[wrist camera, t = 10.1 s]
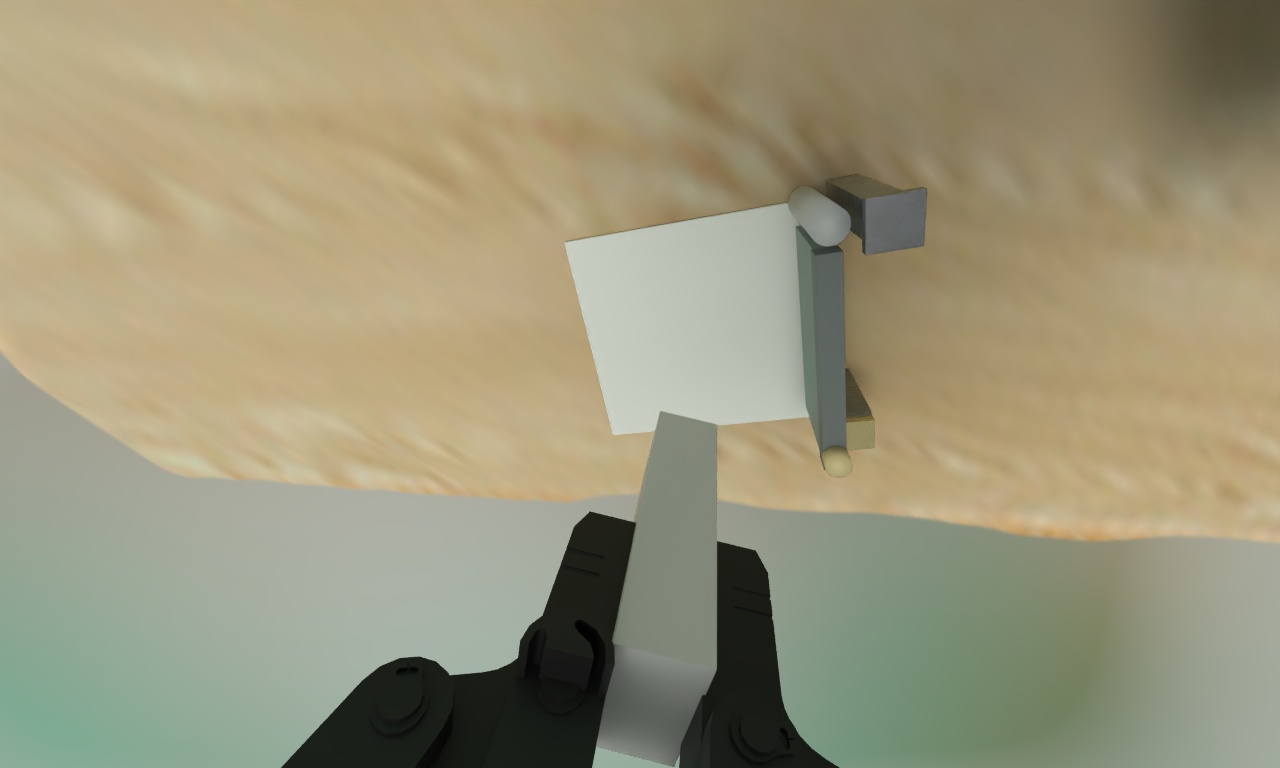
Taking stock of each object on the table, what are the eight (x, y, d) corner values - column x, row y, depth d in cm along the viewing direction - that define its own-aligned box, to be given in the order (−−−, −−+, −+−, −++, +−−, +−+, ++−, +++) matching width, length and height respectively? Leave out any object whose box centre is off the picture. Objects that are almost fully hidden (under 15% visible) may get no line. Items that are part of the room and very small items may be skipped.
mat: (801, 199, 34) (802, 200, 34) (812, 414, 42) (812, 416, 41) (565, 241, 38) (564, 242, 37) (613, 432, 45) (612, 434, 45)
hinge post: (862, 168, 33) (927, 188, 23) (862, 209, 34) (924, 246, 24) (820, 176, 34) (865, 198, 23) (821, 216, 35) (865, 255, 24)
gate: (786, 188, 33) (811, 211, 25) (818, 183, 33) (854, 204, 24) (800, 405, 40) (822, 481, 32) (826, 403, 40) (856, 479, 31)
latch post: (848, 368, 39) (874, 417, 33) (849, 397, 40) (874, 450, 34) (824, 371, 40) (845, 420, 33) (825, 400, 41) (846, 452, 34)
